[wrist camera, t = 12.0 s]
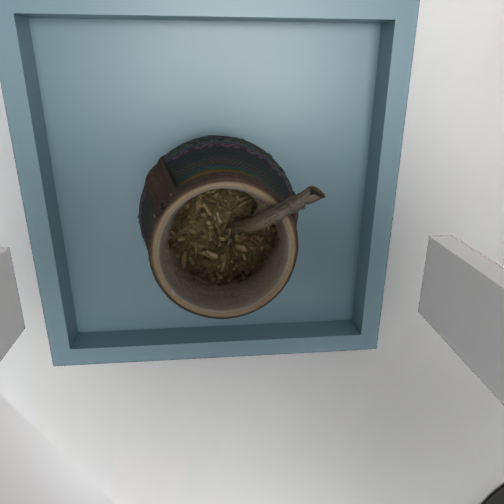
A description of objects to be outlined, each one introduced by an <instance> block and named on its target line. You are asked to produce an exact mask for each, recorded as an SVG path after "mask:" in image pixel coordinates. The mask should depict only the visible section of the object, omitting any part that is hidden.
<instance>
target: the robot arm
mask: <svg viewBox="0 0 504 504" xmlns="http://www.w3.org/2000/svg"><path fill="white" fill-rule="evenodd" d="M418 312H419V313H420V314H421V315H422V316H423V317H424V318H425V320H426V321H427V322H428V323H429V324H430V325H431V326H432V327H433V328H434V329H435V330H436V332H437V333H438V334H439V335H440V336H441V337H442V338H443V339H444V340H445V341H446V343H447V344H448V345H449V346H450V347H451V348H452V349H453V350H454V351H455V352H456V354H457V355H458V356H459V357H460V358H461V359H462V360H463V361H464V362H465V363H466V365H467V366H468V367H469V368H470V369H471V370H472V371H473V372H474V373H475V374H476V375H477V377H478V378H479V379H480V380H481V381H482V382H483V383H484V384H485V385H486V386H487V388H488V389H489V390H490V391H491V392H492V393H493V394H494V395H495V396H496V397H497V399H498V400H499V401H500V402H501V403H502V404H503V405H504V268H502V267H501V266H499V265H497V264H496V263H494V262H493V261H491V260H490V259H488V258H486V257H485V256H483V255H482V254H480V253H479V252H477V251H475V250H474V249H472V248H471V247H469V246H468V245H466V244H464V243H463V242H461V241H460V240H458V239H457V238H455V237H453V236H429V242H428V248H427V255H426V262H425V269H424V275H423V282H422V289H421V295H420V302H419V309H418ZM24 329H25V324H24V319H23V314H22V309H21V304H20V299H19V294H18V289H17V284H16V279H15V274H14V269H13V264H12V258H11V253H10V248H9V247H8V248H0V361H1V360H2V359H3V357H4V356H5V355H6V353H7V352H8V351H9V349H10V348H11V346H12V345H13V344H14V342H15V341H16V340H17V338H18V337H19V336H20V334H21V333H22V332H23V330H24ZM485 504H504V487H502V488H501V489H500V490H499V491H497V492H496V493H495V494H494V495H493V496H492V497H490V498H489V499H488V500H487V501H486V502H485Z"/></svg>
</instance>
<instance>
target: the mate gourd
mask: <svg viewBox="0 0 504 504" xmlns="http://www.w3.org/2000/svg"><path fill="white" fill-rule="evenodd" d="M323 198H326V195H325V193H323V192H322V191H321V190H320V189H319V188H318V187H316V186H313V185H311V186H309V187H307V188H306V189H305V190H303V191H302V192H300V193H297V194H295V192H294V191H293V190H292V186H291V183H290V181H289V179H288V178H287V176H286V174H285V172H284V170H283V169H282V167H280V166H279V165H278V163H277V162H276V161H275V160H274V159H273V156H272V155H271V154H270V153H267V152H265V151H264V150H263V149H261V148H259V147H258V146H256V145H255V144H253V143H251V142H248V141H245V139H240V138H237V137H229V136H218V135H208V136H204V137H200V138H196V139H192V140H190V141H188V142H186V143H183V144H181V145H179V146H177V147H176V148H174V149H172V150H171V151H169V152H168V153H167V154H166V155H164V156H161V158H160V159H159V160H158V162H157V164H156V165H155V166H153V167H152V169H151V170H150V171H149V173H148V174H147V176H146V179H145V185H144V188H143V191H142V194H141V198H140V203H139V214H138V217H137V218H139V222H138V223H139V224H140V229H141V235H142V237H143V239H144V242H145V245H146V247H147V250H148V255H149V258H148V259H149V262H150V268H151V270H152V274H153V276H154V278H155V281H156V282H157V283H158V285H159V287H160V288H161V289H162V291H163V292H164V294H165V295H166V296H167V297H168V298H169V299H170V300H171V301H173V302H174V303H175V304H176V305H178V306H179V307H180V308H182V309H184V310H186V311H188V312H191V313H193V314H195V315H199V316H202V317H207V318H214V319H230V318H237V317H241V316H245V315H247V314H250V313H253V312H255V311H257V310H259V309H261V308H262V307H264V306H266V305H267V304H268V303H270V302H271V301H272V300H273V299H274V298H275V297H277V295H278V294H279V293H280V292H281V291H282V290H283V288H284V287H285V286H286V284H287V283H288V281H289V279H290V277H291V275H292V273H293V270H294V267H295V264H296V260H297V255H298V247H299V246H298V234H297V233H298V231H297V221H298V212H299V211H300V209H301V210H303V209H305V205H306V204H312V203H314V202H316V201H318V200H320V199H323Z"/></svg>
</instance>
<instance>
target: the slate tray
mask: <svg viewBox="0 0 504 504" xmlns="http://www.w3.org/2000/svg"><path fill="white" fill-rule="evenodd" d="M419 4H420V0H0V82H1V88H2V93H3V98H4V104H5V109H6V114H7V120H8V125H9V130H10V136H11V141H12V146H13V152H14V157H15V163H16V168H17V173H18V179H19V184H20V189H21V195H22V200H23V205H24V211H25V216H26V221H27V227H28V232H29V238H30V243H31V248H32V254H33V259H34V264H35V270H36V275H37V280H38V286H39V291H40V296H41V302H42V307H43V313H44V318H45V323H46V329H47V334H48V339H49V345H50V350H51V355H52V361H53V366H66V365H85V364H103V363H122V362H141V361H160V360H178V359H197V358H216V357H235V356H254V355H272V354H291V353H310V352H329V351H347V350H366V349H376V348H377V340H378V332H379V324H380V316H381V308H382V300H383V292H384V284H385V276H386V268H387V260H388V252H389V244H390V236H391V228H392V220H393V212H394V204H395V196H396V188H397V180H398V172H399V164H400V156H401V148H402V140H403V132H404V124H405V116H406V108H407V100H408V92H409V84H410V76H411V68H412V60H413V52H414V44H415V36H416V28H417V20H418V12H419ZM208 135H218V136H229V137H237V138H240V139H245V141H248V142H251V143H253V144H255V145H256V146H258V147H259V148H261V149H263V150H264V151H265V152H267V153H270V154H271V155H272V156H273V159H274V160H275V161H276V162H277V163H278V165H279V166H280V167H282V169H283V170H284V172H285V174H286V176H287V178H288V179H289V181H290V183H291V186H292V190H293V191H294V192H295V194H297V193H300V192H302V191H303V190H305V189H306V188H307V187H309V186H311V185H313V186H316V187H318V188H319V189H320V190H321V191H322V192H323V193H325V195H326V198H323V199H320V200H318V201H316V202H314V203H312V204H306V205H305V209H303V210H301V209H300V211H299V212H298V221H297V231H298V233H297V234H298V246H299V247H298V255H297V260H296V264H295V267H294V270H293V273H292V275H291V277H290V279H289V281H288V283H287V284H286V286H285V287H284V288H283V290H282V291H281V292H280V293H279V294H278V295H277V297H275V298H274V299H273V300H272V301H271V302H270V303H268V304H267V305H266V306H264V307H262V308H261V309H259V310H257V311H255V312H253V313H250V314H247V315H245V316H241V317H237V318H230V319H214V318H207V317H202V316H199V315H195V314H193V313H191V312H188V311H186V310H184V309H182V308H180V307H179V306H178V305H176V304H175V303H174V302H173V301H171V300H170V299H169V298H168V297H167V296H166V295H165V294H164V292H163V291H162V289H161V288H160V287H159V285H158V283H157V282H156V281H155V278H154V276H153V274H152V270H151V268H150V262H149V259H148V258H149V255H148V250H147V247H146V245H145V242H144V239H143V237H142V235H141V229H140V224H139V223H138V222H139V218H137V217H138V214H139V203H140V198H141V194H142V191H143V188H144V185H145V179H146V176H147V174H148V173H149V171H150V170H151V169H152V167H153V166H155V165H156V164H157V162H158V160H159V159H160V158H161V156H164V155H166V154H167V153H168V152H169V151H171V150H172V149H174V148H176V147H177V146H179V145H181V144H183V143H186V142H188V141H190V140H192V139H196V138H200V137H204V136H208Z"/></svg>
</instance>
